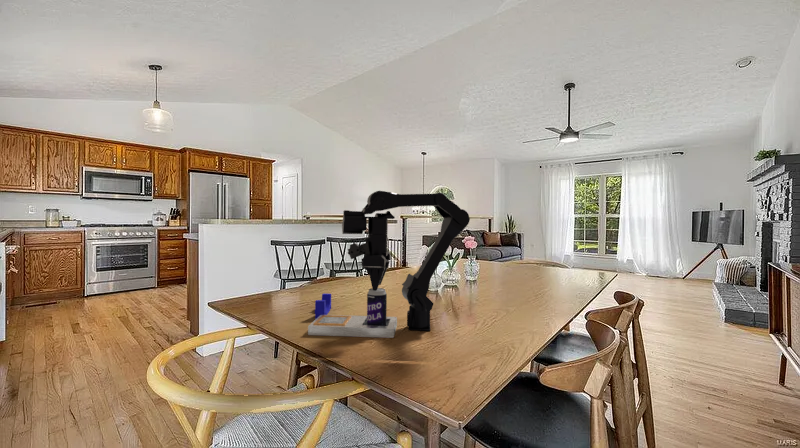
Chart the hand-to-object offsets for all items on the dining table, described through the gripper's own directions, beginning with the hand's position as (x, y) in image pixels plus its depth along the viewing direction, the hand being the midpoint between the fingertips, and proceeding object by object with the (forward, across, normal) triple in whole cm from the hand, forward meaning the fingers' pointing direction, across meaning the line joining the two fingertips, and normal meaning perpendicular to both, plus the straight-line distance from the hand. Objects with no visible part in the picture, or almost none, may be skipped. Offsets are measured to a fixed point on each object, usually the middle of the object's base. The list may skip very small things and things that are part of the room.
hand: (376, 287), depth 101 cm
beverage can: (+13, 0, 0) cm, 13 cm away
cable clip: (+13, -16, -21) cm, 30 cm away
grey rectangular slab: (+13, 0, -6) cm, 14 cm away
